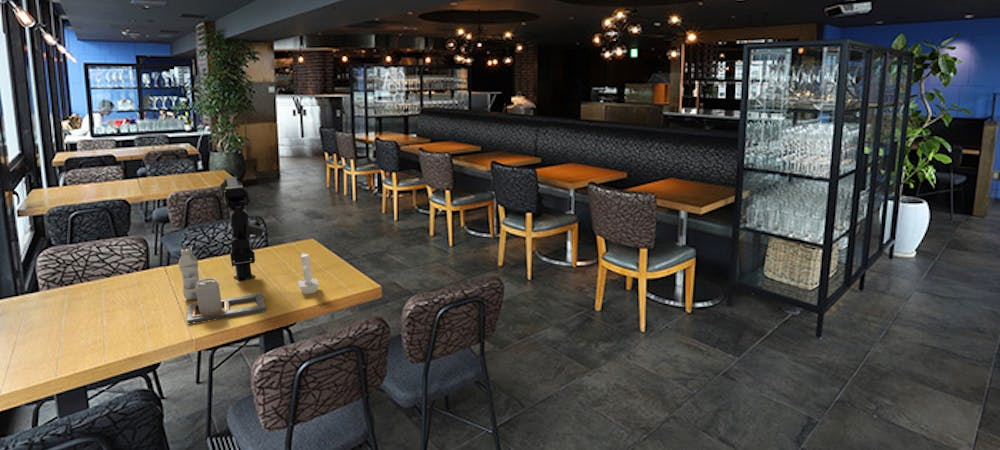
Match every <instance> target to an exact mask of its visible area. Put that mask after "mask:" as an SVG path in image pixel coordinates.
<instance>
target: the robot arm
mask: <svg viewBox="0 0 1000 450" xmlns="http://www.w3.org/2000/svg"><path fill="white" fill-rule="evenodd" d="M223 179H224V181H223V182H222V183H221V184H220V185H219V187H220V195H221V196H220V197H221V199H222V198H223V203H224V204H225V208H228V212H229V219H230V227H231V232H232V233H231V236H232V239H231V241H230V243H231V251H230V252H229V254H230V264H231V267H235V273H236V275H234V276H233V278H234V279H236V280H238V281H240V282H243V281H244V280H250V279H253V278H255V277H256V275H255V274H253V273H252V268H251V267H252V266H251V264H255V263H256V257H255V251H254V250H253V249H252V248H251V241H250V237H251V235H252V236H258V237H263V235H264V230H265V226H264V225H262V224H261V222H260V221H255V222H254V223H249V214H248V212H247V210H246V207H247V206H249V204H250V196H249V192H248V190H247V189H246V188H244V186H243V183H242V181H240V180H239V179H238V176H228V177H223Z"/></svg>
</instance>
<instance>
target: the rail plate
mask: <svg viewBox="0 0 1000 450" xmlns="http://www.w3.org/2000/svg"><path fill="white" fill-rule="evenodd" d="M255 301H256V305H255V306H249V307H243V308H238V309H237V308H236V309H231V310H230V305H231V306H232V305H237V304H242V303H243V304H244V303H248V302H255ZM221 303H222V307H223V306H224V310H221V311H219V312H212V313H206V314H201V313H199V314H197V310H196V309H199V307H198V302H197V303H192V304H188V310H187V320H186V321H187V324H188V323H193V322H200V323H203V322H202V321H206V322H209V321H208V320H212V321H215V320H214V319H217V320H222V319H223V320H224V319H228V318H234V317H241V316H246V315H252V314H257V313H264V312H266V311H267V310H266V304H265V299H264V296H263V292H261V293H255V294H248V295H243V296H242V295H241V296H236V297H234V296H233V297H230V298H224V299H222V298H221Z"/></svg>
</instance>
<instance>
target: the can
mask: <svg viewBox="0 0 1000 450" xmlns="http://www.w3.org/2000/svg"><path fill="white" fill-rule="evenodd" d="M196 294H197V299H196V300H197V303H198V307H199V310H198V312H199V314H206V313H212V312H219V311H223V306H222V303H221V300H222V298H221V290H220V284H219V282H218V281H217V279H216V278H204V279H203V278H202V279H199V281H198V282H197V285H196Z"/></svg>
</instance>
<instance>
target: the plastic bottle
mask: <svg viewBox="0 0 1000 450" xmlns="http://www.w3.org/2000/svg"><path fill="white" fill-rule="evenodd" d="M180 255H181V256H180V258H179V260H178V263H177V264H178V268H179V270H180V272H181V277H182V282H183V283H182V285H183V289H182V290H183V292H182V293H183V296H184V298H185V299H186V300H187V301H193V300H194V301H195V300H197V294H196V285H197V282H198V281H200V276H199V260H198V258H197V257H196V256H195V255H194V254H193V249H192V247H191V246H185V247H181V248H180Z"/></svg>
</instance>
